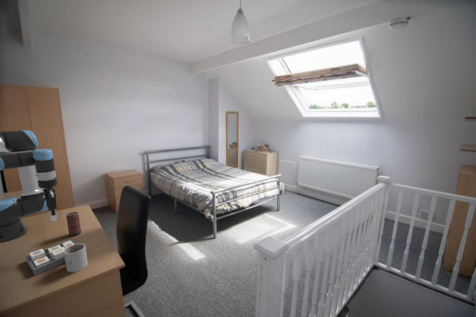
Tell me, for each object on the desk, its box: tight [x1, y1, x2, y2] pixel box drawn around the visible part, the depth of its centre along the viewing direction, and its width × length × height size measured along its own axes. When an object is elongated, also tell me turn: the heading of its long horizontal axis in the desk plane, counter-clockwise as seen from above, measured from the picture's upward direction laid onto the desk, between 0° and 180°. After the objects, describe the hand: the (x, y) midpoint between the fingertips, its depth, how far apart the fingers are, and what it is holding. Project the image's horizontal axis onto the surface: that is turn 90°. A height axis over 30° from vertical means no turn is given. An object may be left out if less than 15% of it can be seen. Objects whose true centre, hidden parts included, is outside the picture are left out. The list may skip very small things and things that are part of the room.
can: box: [65, 211, 82, 237], centre depth 137 cm, size 6×6×14 cm
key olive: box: [48, 244, 62, 257], centre depth 119 cm, size 5×5×3 cm
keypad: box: [24, 238, 77, 277], centre depth 116 cm, size 17×20×3 cm
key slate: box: [28, 248, 46, 262], centre depth 113 cm, size 5×5×3 cm
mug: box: [64, 243, 89, 273], centre depth 110 cm, size 12×9×10 cm
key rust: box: [34, 256, 50, 268], centre depth 109 cm, size 5×5×3 cm
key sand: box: [52, 247, 65, 260], centre depth 114 cm, size 5×5×3 cm
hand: (53, 220), depth 119 cm, fingers closed
